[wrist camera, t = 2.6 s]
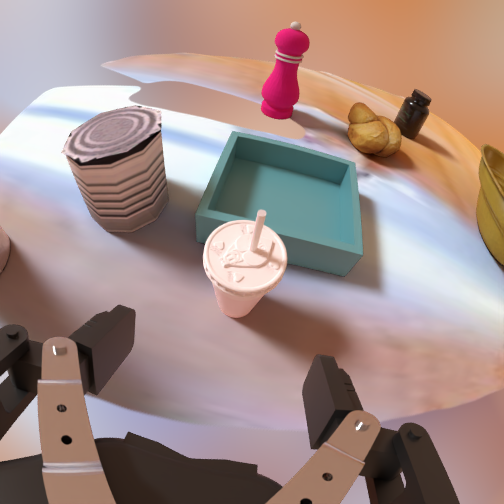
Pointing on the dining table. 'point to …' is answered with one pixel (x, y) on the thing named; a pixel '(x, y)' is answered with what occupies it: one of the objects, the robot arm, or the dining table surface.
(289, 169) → the tote
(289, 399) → the dining table surface
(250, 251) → the smoothie
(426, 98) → the supplement bottle
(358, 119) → the bread roll
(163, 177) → the can
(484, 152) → the planter bowl
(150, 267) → the dining table surface
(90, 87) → the dining table surface
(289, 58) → the pepper mill
